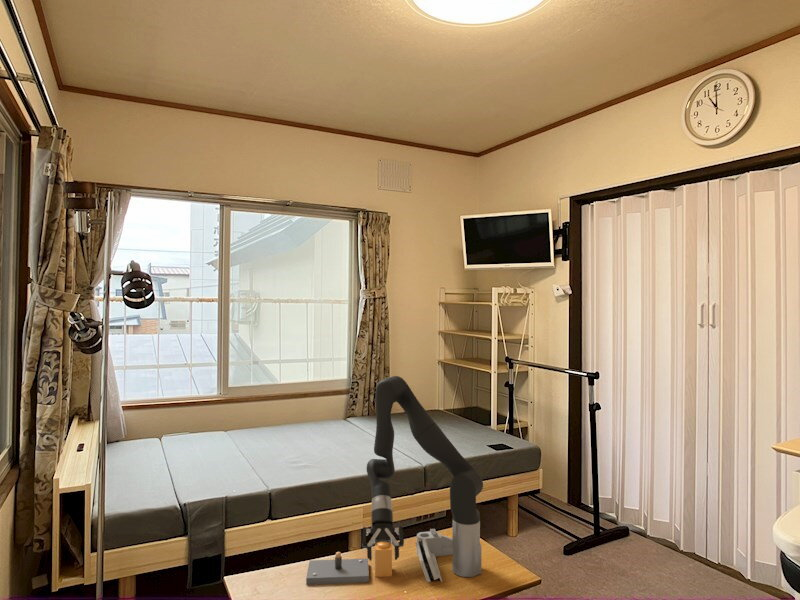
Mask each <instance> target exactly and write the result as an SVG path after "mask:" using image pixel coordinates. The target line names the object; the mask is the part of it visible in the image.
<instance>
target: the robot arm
mask: <svg viewBox="0 0 800 600" xmlns="http://www.w3.org/2000/svg"><path fill="white" fill-rule="evenodd" d="M395 403H397V404H398V405H399V406H400V407H401V408H402V410H403V411H404V412H405V414H406V416H407V420H408V425H409V428H410V431H411V434H412V436H413V438H414V439H415V441H416V442H417V443H418V444H419V445H418V446H420V447H421V448H422V450H423V451H425V453H427V454H428V455H429V456H431V457H432V458H433V459H435V460H436V461H438V462H440V463H441V464H442V465H444V467H446V468H447V470H448V471H449V473H451V475H452V479H451V480H450V484H449V500H450V501H449V503H450V512H451V514H452V538H453V545H452V555H451V556H452V557H451V559H452V563H451V564H452V568H451V569H452V572H453V573H454V574H456V575H457V576H459V577H464V578H473V577H476V576H478V575H482V544H481V529H480V528H481V513H480V510H478V509H477V496H478V495H480V493H481V492H482V491H483V487H484V481H483V478H482V476H481V475H480V474H479V472H478V470H476V468H474V466H472V464H470V462H469V461H467V459H466V458H465V457H464V456H462V455H461V452H459V451H458V449H457V448H456V447H455V446H454V444H453V443H452V442H451V441H450V439H449V438H448V437H447V436H446V434H445V433H444V431H443V430H442V429H441V428H440V427H439V425H438V424H437V423H436V421H435V420H434V419H433V418H432V417H431V415H430V414H429V413H428V411H427V410H426V409H425V408H424V407H423V405H422V404H421V402H420V401H419V399H417V396H416V395H415V394H414V392H413V391H412V388H410V386H409V385H408V383H407V381H405V380H404V379H403V378H402V377H400V376H398V375H393V376H389V377H386V378H384V379H382V380H380V381H379V382H378V383H377V385H376V388H375V414H376V415H375V417H376V418H375V419H376V426H375V427H376V428H375V437H374V446H373V453H374V455H376V456H378V457H380V458H379V459H377V458H372V459H370V460H369V461H368V462H367V463H366V473H367V477H368V480H369V482H370V487H371V505H370V507H371V508H370V510H371V511H370V513H371V514H370V515H371V516H370V517H371V527H370V528H367V527H363V528H362V537H361V547H362V549H363V548H365V549H366V555H367V557H366V559H367V558H368V562H369V561H370V562H372V559H373V558H372V557H373V556H372V551H373V550H372V547H373V546H375V543H378V542H380V541H387V542H391V545H392V546H393V547H394V550H393V551H394V561H398V559H399V557H400V547H401V548H402V547H404V546H405V545H404V544H405V540H404V532H403V531H404V530H403V529H404V528H403V527H402V526H401V525H400V526H399V527H394V518H393V517H394V514H393V513H394V512H393V502H392V501H393V500H392V488H391V484H390V482H387V481H384V480H390V479H392V478H393V477H394V476H395V468H396V467H395V463H394V456H393V455H394V454H393V451H394V450H393V449H394V444H395V443H394V442H395V429H394V426H393V423H392V422H393V421H392V418H391V417H392V411H393V410H392V409H393V406H394V404H395ZM381 458H382V459H381ZM383 458H384V459H383ZM394 533H396V534H397V536H398V538H399V541H397V539H396V537H395V536H394ZM369 534H371V538H370V540H369V541H368V542H367V536H369Z"/></svg>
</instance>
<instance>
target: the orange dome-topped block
mask: <svg viewBox="0 0 800 600" xmlns="http://www.w3.org/2000/svg"><path fill="white" fill-rule="evenodd" d="M392 546H393V545H392V544H391V542H390V541H380V542H378V541H377V542H375V543H374V576H375V578H380V577H383V578H384V577H393V549H392V548H393V547H392Z"/></svg>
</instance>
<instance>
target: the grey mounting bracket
mask: <svg viewBox="0 0 800 600" xmlns="http://www.w3.org/2000/svg"><path fill="white" fill-rule="evenodd" d="M422 539H426V541H427V544H428V547H429V550H430V552H431V553H434V555H435V557H444V555H445V556H452V545H453V537H450V536H447V535H444V534H441V533H439V532H438V531H436V529H435V528H430V529H429V531H420V532H418V533H416V542H417V541H420V542H421V540H422ZM421 545H422V543H421ZM422 548H423V547H422ZM416 555H417V556H418V553H417V552H416Z"/></svg>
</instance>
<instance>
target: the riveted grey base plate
mask: <svg viewBox="0 0 800 600" xmlns="http://www.w3.org/2000/svg"><path fill="white" fill-rule="evenodd" d="M369 574H370V573H369V559H368V558H367V557H366V558H348V559H347V558H343V559H342V552H341V551H337V552H335V557H334V559H316V560H315V559H314V560H309V562H308V566H307V572H306V576H305V577H306V578H305V580H306V581H305V585H324V584H325V585H327V584H328V585H330V584H333V585H334V584H352V583H353V584H355V583H356V584H357V583H358V584H359V583H369V582H370V581H369V580H370V577H369V576H370V575H369Z"/></svg>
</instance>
